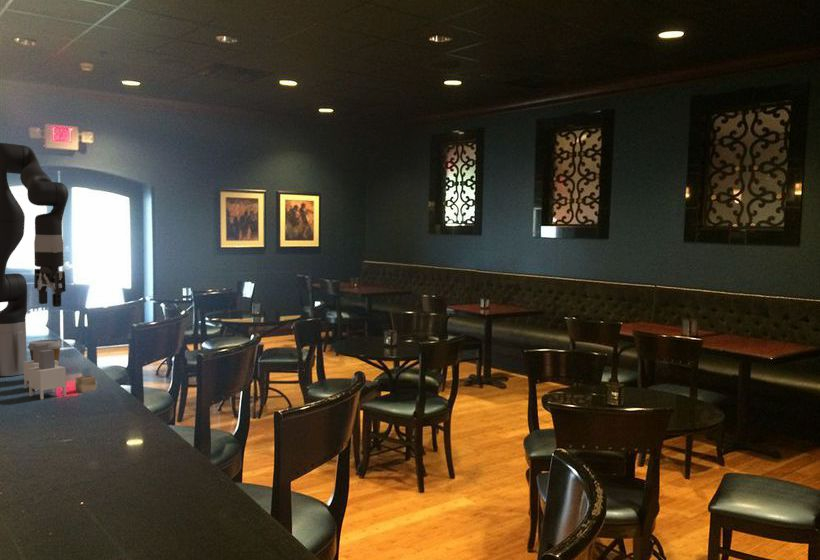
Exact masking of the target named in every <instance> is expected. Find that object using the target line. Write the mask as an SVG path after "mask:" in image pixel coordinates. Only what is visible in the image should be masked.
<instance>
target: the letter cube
mask: <svg viewBox="0 0 820 560" xmlns="http://www.w3.org/2000/svg"><path fill="white" fill-rule="evenodd" d="M74 381H75V383H74V385H75V386H74V387H75V391H76V392H80V393H87V391H88V392H92V390H93V391H96V390H97V385H96V381H97V380H96V376H92V375H87V374H86V375H83V376H76V377H74Z"/></svg>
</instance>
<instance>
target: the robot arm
mask: <svg viewBox="0 0 820 560" xmlns="http://www.w3.org/2000/svg"><path fill="white" fill-rule="evenodd" d="M8 174H14V175H15V174H16V175H20V176H19V178H20V181H21V183H22V185H23V187H25V189H26V190H27V198H28V201H29V203H30V204H33V205H35V206H38V207H39V206H40V207H52V209H51V210H50V211H49V212H47V213H41V214H37V215H36V216H35V219H34V235H35V236H34V243H33V246H34V247H33V248H34V252H33V253H34V266H35V267H38V268H34V271H33V272H34V275H33V276H34V277H33V278H34V280H33V281H34V286H33V287H34V289H36V291H37V292H38V304H40V305H44V304H45V305H47V304H48V289H50V291H51V292H52V294H51V298H52V301H51V303H52V304H51V305H52V307H54V308H57V307H58V308H59V307H61V306H62V294H63V293H65V292H66V288H67V287H66V274H65V271H60V269H59V267H63V266H64V261H65V260H64V240H63V218H64V213H65V209H66V206H67V202H68V200H69V199H68V198H69V190H68V188H67V186H66V185H65V184H64V183H63V182H57V181H52V179H51V177H50V176H49V175H48V174H46V172H45V171H44V170H43V169H42V166H41V165H40V162H39V160H38V158H37V156H36V153H35V152H34V150H33V149H32V148H31V147H29V146H27V145H22V144H15V143H7V142H0V303H7V305H6V306H5V307H4V308H3V309H2V310H0V377H11V376H12V377H13V376H20V375H24V362H26V361H28V352H27V350H28V349H27V348H28V346H27V327H26V326H27V325H26V324H27V323H26V317H27V312H28V285H27V281H26V278H25V276H24V275H23V274H22V273H6V268H7V265H8V262H9V259H10V257H11V255H12V254H13V253H14V252H15V250H16V248H17V247H18V245H19V244H20V243H21V241H22V240H23V238H24V234H25V219H26V217H25V216H26V215H25V213H24V210H23V209H22V206H21V205H20V203H19V202H18V200H17V199H16V197H15V196H14V194H13V192H12V191H11V188H10V186H9V182H8Z"/></svg>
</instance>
